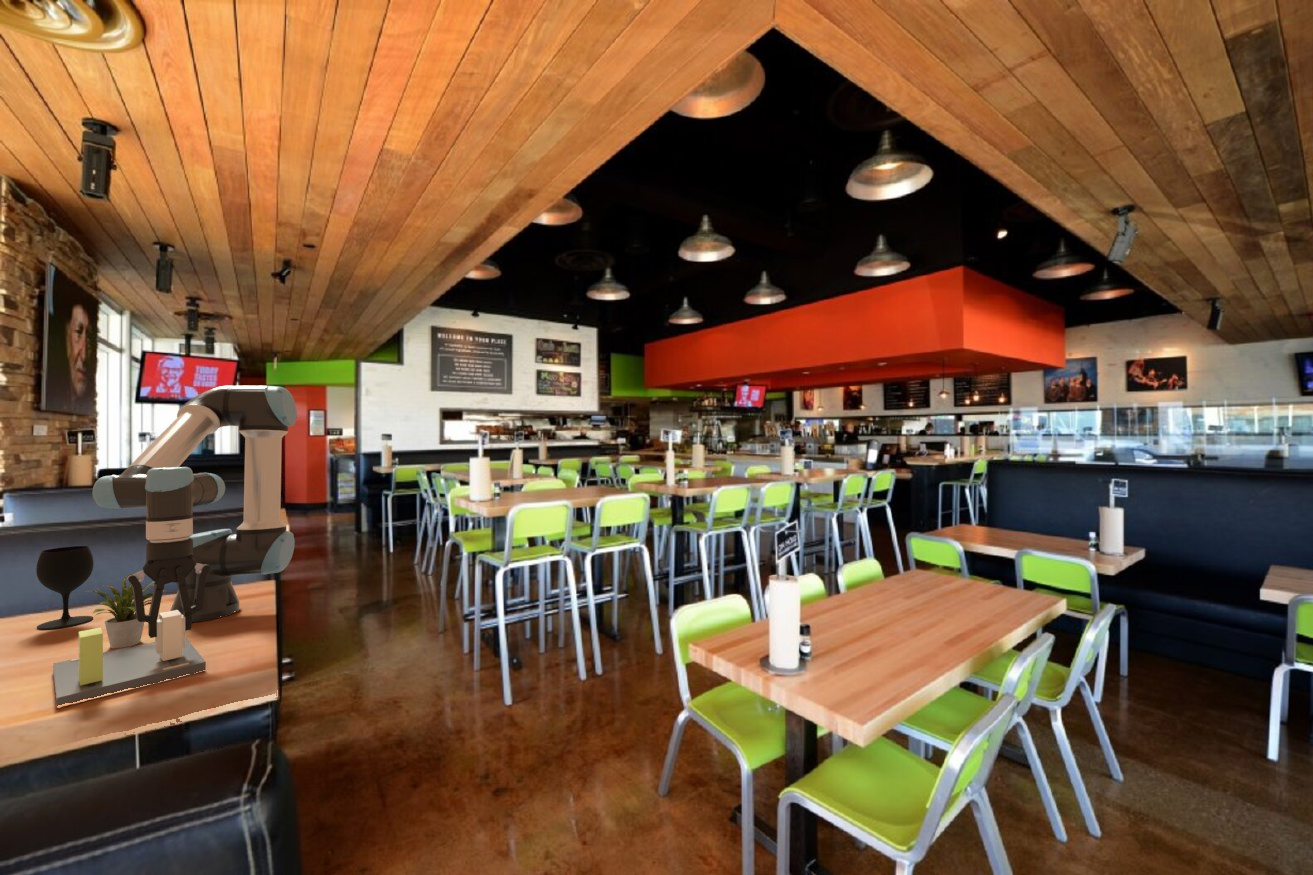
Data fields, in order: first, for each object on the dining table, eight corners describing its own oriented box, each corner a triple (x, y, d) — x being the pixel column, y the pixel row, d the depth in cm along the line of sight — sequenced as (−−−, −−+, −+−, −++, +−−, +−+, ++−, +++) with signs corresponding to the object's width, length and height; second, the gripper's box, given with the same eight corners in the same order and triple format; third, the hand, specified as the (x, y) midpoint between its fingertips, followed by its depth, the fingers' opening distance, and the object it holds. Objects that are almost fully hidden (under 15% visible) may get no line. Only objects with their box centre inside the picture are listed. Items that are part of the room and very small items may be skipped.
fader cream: (177, 650, 119) (177, 609, 119) (181, 656, 116) (181, 614, 116) (159, 654, 117) (159, 613, 117) (162, 661, 113) (162, 617, 113)
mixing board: (184, 643, 130) (184, 634, 130) (205, 671, 114) (205, 660, 114) (53, 672, 114) (53, 662, 114) (56, 708, 98) (56, 696, 98)
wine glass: (91, 614, 153) (91, 543, 153) (95, 622, 146) (95, 548, 146) (35, 624, 145) (35, 549, 145) (37, 632, 138) (37, 554, 138)
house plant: (108, 660, 120) (108, 586, 120) (61, 655, 123) (61, 583, 123) (176, 637, 134) (176, 571, 134) (133, 633, 137) (133, 569, 137)
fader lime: (100, 672, 108) (100, 627, 108) (102, 680, 104) (102, 633, 104) (78, 678, 105) (78, 631, 105) (80, 685, 102) (80, 637, 102)
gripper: (118, 547, 108) (119, 665, 108) (221, 535, 120) (221, 642, 120) (115, 542, 113) (115, 655, 112) (214, 532, 125) (214, 634, 125)
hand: (170, 648), depth 116 cm, fingers closed on fader cream, 3 cm apart
